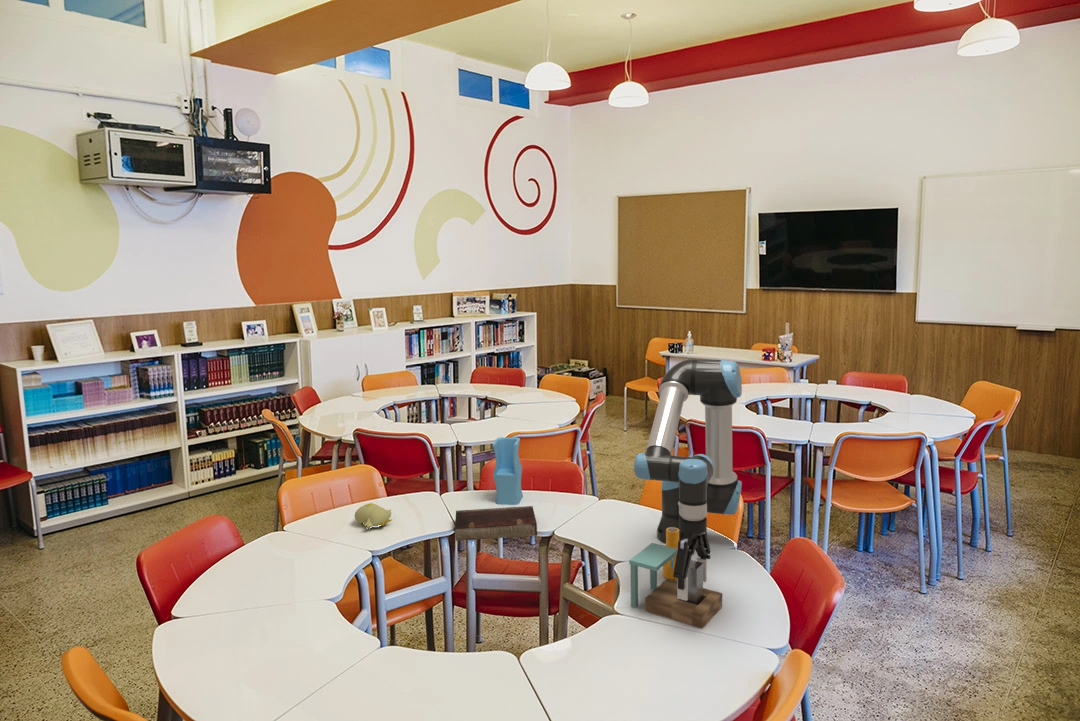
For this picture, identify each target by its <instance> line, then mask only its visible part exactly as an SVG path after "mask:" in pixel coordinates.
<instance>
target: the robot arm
mask: <svg viewBox="0 0 1080 721" xmlns="http://www.w3.org/2000/svg"><path fill="white" fill-rule="evenodd" d="M742 385H743V384H742V374H741V369H740V366H739V364H738V363H737V362H736V361H734V360H725V359H694V358H691V359H690V358H689V359H685V360H681V361H680V362H678V363H676V364H675V365H673V366H672V367H671V368H670V369H668V371H667V372H665V374H664V376H663V377H662V379H661V381H660V383H659V387H658V395H659V399H658V403H657V407H656V411H655V415H654V419H653V423H652V427H651V429H650V434H649V438H648V440H647V445H646V449H645V452H639V453H636V455H635V457H634V464H633V470H634V475H635V476H636V478H637V479H642V480H646V481H647V480H648V481H659V482H661V488H660V489H661V517H660V520H659V523H658V526H657V529H656V538H657V539H658V540H659V541H661V542H662V543H664V544H666V529H667V528H669V527H675V528H678V529H679V541H678V551H677V557H676V562H675V568H674V574H673V577H675V578H677V579H676V581H677V598H678V599H681V600H685V601H687V600H688V577H686V576H687V572H688V568H689V564H690V560H692V556H693V555H694V554H695V552H696V554H697V556H698V557H697V558H696V561H697V562H701V563H703V583H706V582H707V580H708V578H707V575H708V573H707V572H708V563H707V562H708V560H711V555H710V554H711V548H710V543H709V539H708V532H707V530H708V529H707V528H708V527H707V526H708V525H707V524H708V520H707V519H708V518H707V515H708V513H709V514H718V515H723V516H724V515H731V516H732V515H735V514H736V513H737V512H738V508H739V504H740V498H741V493H742V488H743V487H742V486H743V483H742V482H743V481H742V480H738V475H737V473H736V472H734V471H733V405H735V404H736V403H737V402H738V399H739V398H740V397H741V396H742V392H743V388H742ZM689 396H699V401H700V403H701V404H702V405H703V406H704V420H705V421H704V422H705V423H704V425H705V426H704V427H705V430H704V431H705V454H703V453H699V454H695V455H693V456H691V457H690V456H682V455H681V456H679V455H672V454H673V449H674V446H675V445H674V444H675V441H676V436H677V431H678V429H679V428H678V427H679V424H680V419H681V415H682V410H683V406H684V403H685V402H686V401H687V399H688V398H689Z"/></svg>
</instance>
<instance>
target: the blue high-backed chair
mask: <svg viewBox="0 0 1080 721" xmlns="http://www.w3.org/2000/svg"><path fill="white" fill-rule="evenodd" d="M520 440H521V438H520V437H503V436H502V437H497V438H496V439H495V440H494V441H493V442H492V449H493V451H494V455H495V466H494V468H493V469H494V470H493V474H492V477H493V481H494V483H495V489H496V496H495V504H496V505H505V506H507V505H510V506H511V505H512V506H513V505H514V506H515V505H519V504H520V503H521V501H522V499H523V498H524V495H523V491H522V475H523V466H522V464H521V460H520V456H519V450H520V449H519V446H520V443H521V442H520Z"/></svg>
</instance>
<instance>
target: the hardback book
mask: <svg viewBox="0 0 1080 721" xmlns="http://www.w3.org/2000/svg"><path fill="white" fill-rule="evenodd" d="M454 524H455V525H454V536H455V541H456V542H457V541H459V542H460V541H469V540H470V541H471V540H472V541H473V540H491V539H503V538H504V539H505V538H520V537H522V538H523V537H533V536H534V537H536V536H538V525H537V524H538V522H537V518H536V515H535V511H534V506H533V505H528V506H509V507H495V508H493V507H492V508H479V509H462V510H455V522H454Z"/></svg>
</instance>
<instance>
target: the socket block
mask: <svg viewBox="0 0 1080 721" xmlns="http://www.w3.org/2000/svg"><path fill="white" fill-rule="evenodd" d="M644 602H645V604H644V605H645V612H647V613H650V614H653V615H658V616H661V617H663V618H667V619H670V620H673V621H677V622H680V623H683V624H687V625H690V626H693V627H695V628H696V627H697V628H699V629H703V628H704V627H705V626H706V625H707V624H708V623H709V622H710V620H711V619H713V617H714V616H715V615H716V614H717V613H718V612H719V611H720V610H721V609H722V607H723V593H722V592H719V591H715V590H712V589H708V588H704V587H703V601H702V602H701V603H700V604H699V605H696V604H692V603H689V602H685V601H682V600H681V599H678V598H677V580H676V579H675V580H672V579H668V578H665V580H663V582H661V583H660V585H657V588H656V589H655V590H652V591H651V592H650V593H649V594H648V595H647V596H646V597H645V598H644Z"/></svg>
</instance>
